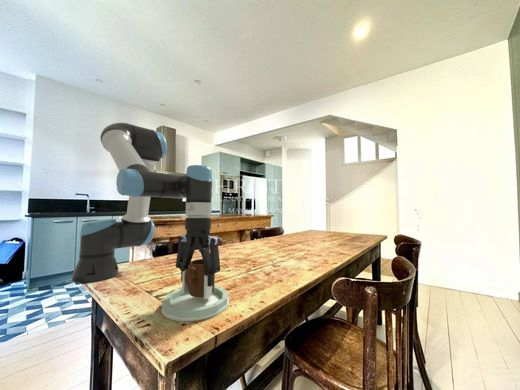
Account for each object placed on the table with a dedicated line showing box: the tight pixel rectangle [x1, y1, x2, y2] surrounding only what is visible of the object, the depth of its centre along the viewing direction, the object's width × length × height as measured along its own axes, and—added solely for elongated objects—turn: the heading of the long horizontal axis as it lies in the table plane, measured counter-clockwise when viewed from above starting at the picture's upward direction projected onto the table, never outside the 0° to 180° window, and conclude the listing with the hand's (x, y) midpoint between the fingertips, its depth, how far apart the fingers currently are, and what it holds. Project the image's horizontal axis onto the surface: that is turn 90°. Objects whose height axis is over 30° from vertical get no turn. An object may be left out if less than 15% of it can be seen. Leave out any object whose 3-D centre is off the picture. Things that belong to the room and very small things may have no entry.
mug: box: [184, 258, 216, 297], centre depth 63 cm, size 12×8×9 cm, turn 164°
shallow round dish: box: [161, 285, 230, 323], centre depth 63 cm, size 19×19×2 cm
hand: (196, 294), depth 63 cm, fingers closed on mug, 7 cm apart
